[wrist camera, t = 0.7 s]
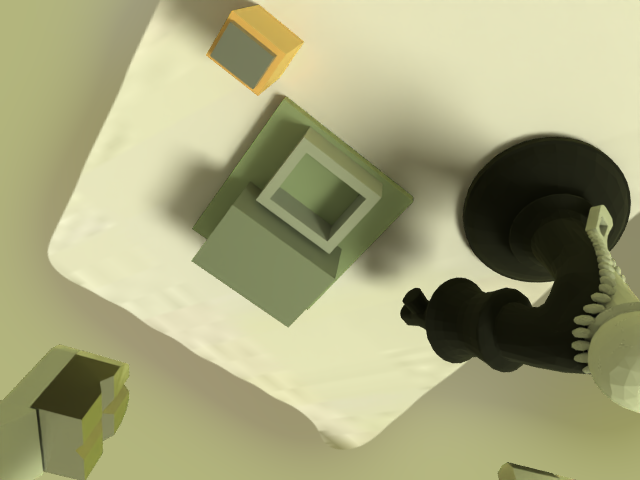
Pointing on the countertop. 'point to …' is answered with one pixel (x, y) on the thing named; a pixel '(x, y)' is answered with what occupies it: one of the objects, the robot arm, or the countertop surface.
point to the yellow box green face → (254, 47)
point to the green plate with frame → (295, 215)
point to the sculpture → (543, 270)
